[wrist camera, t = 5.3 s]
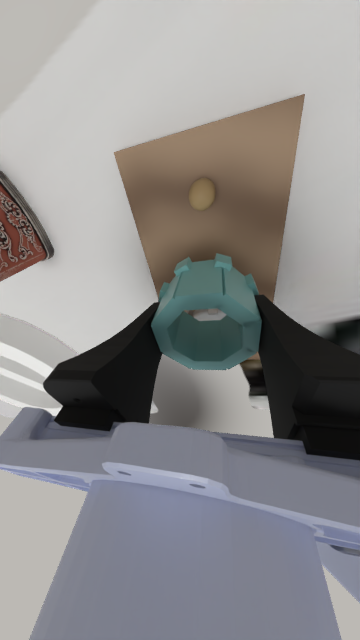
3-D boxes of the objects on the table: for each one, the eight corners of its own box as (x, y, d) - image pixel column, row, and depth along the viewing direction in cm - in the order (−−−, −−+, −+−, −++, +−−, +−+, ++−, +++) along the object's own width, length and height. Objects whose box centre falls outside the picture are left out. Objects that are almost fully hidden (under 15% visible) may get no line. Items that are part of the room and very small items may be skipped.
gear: (252, 330, 14) (261, 374, 11) (173, 333, 16) (163, 372, 13) (258, 247, 10) (276, 279, 7) (153, 261, 12) (131, 293, 9)
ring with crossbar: (119, 400, 43) (110, 421, 39) (29, 394, 50) (14, 412, 46) (43, 303, 26) (15, 325, 22) (-79, 314, 33) (-115, 332, 29)
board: (262, 353, 25) (268, 375, 22) (178, 353, 28) (174, 373, 25) (298, 99, 11) (325, 75, 8) (119, 153, 14) (95, 149, 11)
